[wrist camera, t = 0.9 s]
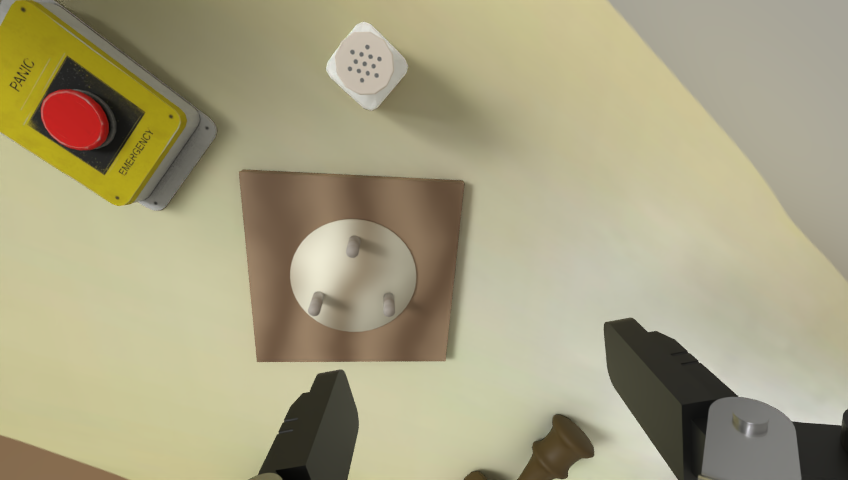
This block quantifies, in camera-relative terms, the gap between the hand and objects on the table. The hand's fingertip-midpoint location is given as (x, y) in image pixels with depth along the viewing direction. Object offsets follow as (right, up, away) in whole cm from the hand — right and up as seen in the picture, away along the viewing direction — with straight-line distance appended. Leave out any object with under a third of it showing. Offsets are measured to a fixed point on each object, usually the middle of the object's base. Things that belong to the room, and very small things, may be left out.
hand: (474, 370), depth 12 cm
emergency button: (-26, +14, +18) cm, 34 cm away
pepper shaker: (-6, +17, +18) cm, 25 cm away
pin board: (-8, +1, +24) cm, 25 cm away
